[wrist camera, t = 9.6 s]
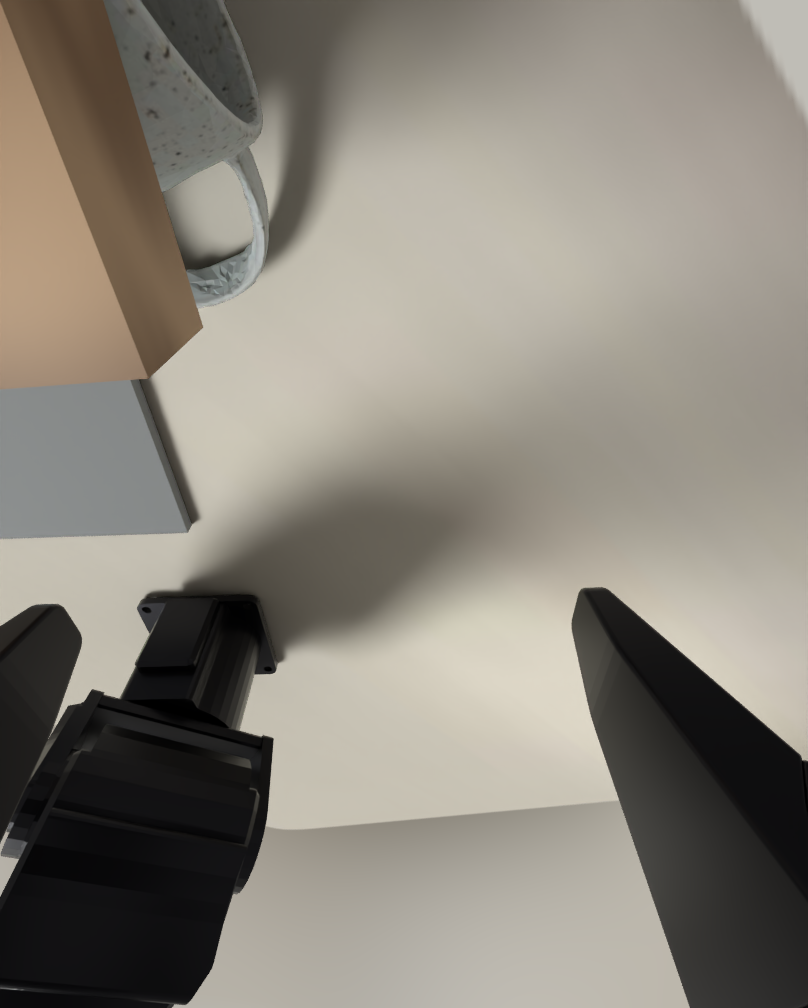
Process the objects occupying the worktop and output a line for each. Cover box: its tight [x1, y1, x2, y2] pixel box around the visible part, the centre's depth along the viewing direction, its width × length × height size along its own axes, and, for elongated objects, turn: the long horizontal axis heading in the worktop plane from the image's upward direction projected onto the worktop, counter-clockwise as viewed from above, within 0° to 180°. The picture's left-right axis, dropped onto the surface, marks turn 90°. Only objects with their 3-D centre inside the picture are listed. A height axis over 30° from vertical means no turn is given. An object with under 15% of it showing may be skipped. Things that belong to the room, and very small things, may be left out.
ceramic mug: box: [103, 0, 269, 308], centre depth 12 cm, size 11×8×8 cm
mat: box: [0, 379, 192, 539], centre depth 20 cm, size 12×12×1 cm
